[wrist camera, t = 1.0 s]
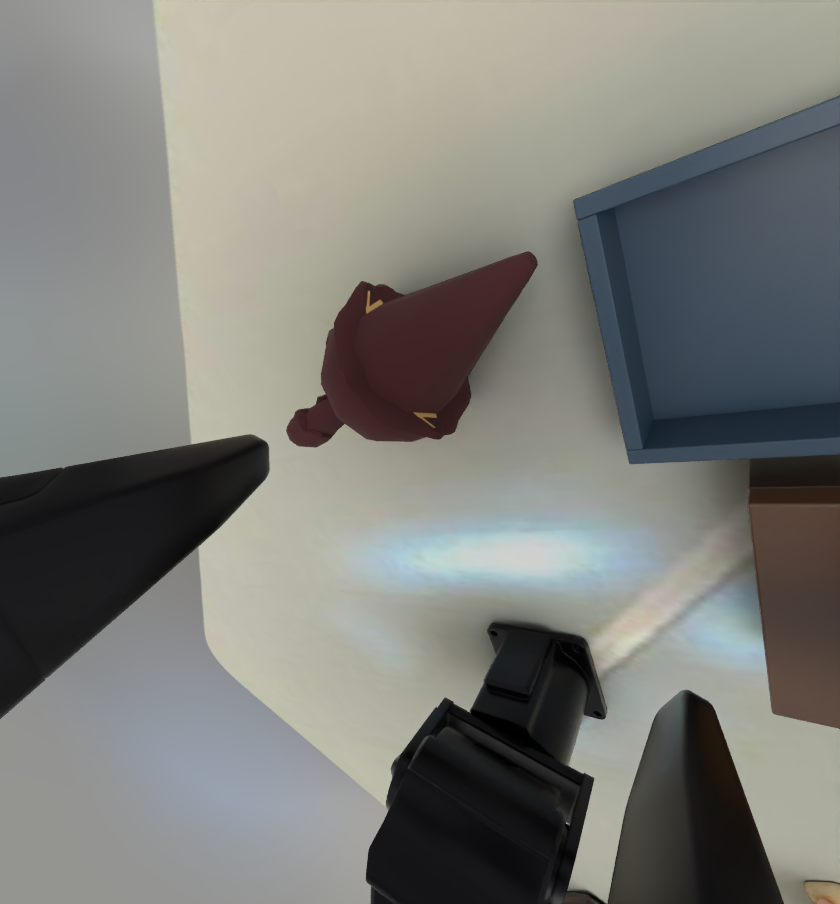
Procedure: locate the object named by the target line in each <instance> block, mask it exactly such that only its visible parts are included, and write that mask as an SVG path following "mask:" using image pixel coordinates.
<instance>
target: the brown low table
mask: <svg viewBox="0 0 840 904" xmlns="http://www.w3.org/2000/svg"><path fill="white" fill-rule="evenodd" d="M748 513H749V522H750V530H751V539H752V547H753V555H754V564H755V572H756V581H757V589H758V598H759V606H760V615H761V623H762V632H763V640H764V649H765V657H766V666H767V674H768V683H769V691H770V699H771V708H772V712H773V714H775V715H780V716H784V717H789V718H793V719H798V720H803V721H807V722H812V723H816V724H821V725H825V726H830V727H835V728H839V729H840V454H838V455H816V456H794V457H773V458H751V459H749V472H748Z"/></svg>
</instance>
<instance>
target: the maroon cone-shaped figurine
mask: <svg viewBox="0 0 840 904" xmlns="http://www.w3.org/2000/svg"><path fill="white" fill-rule="evenodd" d="M537 265H538V262H537V259H536V257H535V256H534V255H533V254H532V253H531V252H525V253H522V254H518V255H515V256H512V257H509V258H506V259H504V260H501V261H498V262H496V263H493V264H490V265H488V266H485V267H482V268H480V269H477V270H474V271H471V272H469V273H466V274H463V275H460V276H458V277H455V278H452V279H449V280H446V281H444V282H441V283H438V284H435V285H433V286H430V287H427V288H424V289H421V290H419V291H416V292H413V293H410V294H408V295H402V294H399V293H397V292H395V291H394V290H393V289H392V288H390V287H388V286H386V285H382V284H379V285H377V286H374V285H372V284H370V283H367V282H364V281H361V282H360V284H359V285H358V286H357V287H356V288H355V290H354V292H353V293H352V295H351V297H350V298H349V300H348V301H347V303H346V305H345V306H344V307H343V308H342V309H341V311H340V312H339V313H338V316H337V318H336V320H335V322H334V328H333V329H331V330H330V331H329V334H328V337H327V341H326V350H325V355H324V361H323V366H322V372H321V385H322V387H323V389H324V391H325V393H326V395H323V396H320V397H318V398H317V402H316V405H314V406H313V407H311V408H305V409H299V410H297V411H296V412H295V415H294V417H293V418H292V419H291V420H290V422H289V424H288V426H287V430H286V431H287V434H288V436H289V439H290V440H291V441H292V442H293V443H295V444H296V445H297V446H304V447H318V446H320V445H322V444H324V443H325V442H327V441H328V440H329V439H331V438H332V436H333V435H334V434H335V433H336V431H337V430H338V429H339V428H341V427H342V426H343V425H344V424H346V425H348V426H349V427H350V428H352V429H353V430H355V431H356V432H357V433H359V434H360V435H362V436H363V437H364V438H366V439H369V440H374V441H404V442H413V441H416V440H419V439H422V438H425V437H428V438H432V439H441V438H442V437H443V436H444V435H449V434H452V433H454V432H455V430H456V428H457V424H458V420H459V419H460V417H461V415H462V414H463V412H464V411H465V409H466V408H467V406H468V404H469V402H470V398H471V391H470V386H469V381H468V378H467V377H468V375H469V373H470V372H471V370H472V369H473V367H474V365H475V364H476V362H477V361H478V359H479V357H480V356H481V354H482V353H483V351H484V349H485V348H486V346H487V345H488V343H489V341H490V340H491V338H492V337H493V335H494V333H495V332H496V330H497V329H498V327H499V326H500V324H501V322H502V321H503V319H504V318H505V316H506V314H507V313H508V311H509V310H510V308H511V307H512V305H513V304H514V302H515V301H516V299H517V298H518V296H519V295H520V293H521V291H522V290H523V288H524V287H525V285H526V284H527V282H528V281H529V279H530V277H531V276H532V274H533V272H534V271H535V269H536V267H537Z"/></svg>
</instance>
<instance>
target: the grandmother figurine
mask: <svg viewBox="0 0 840 904" xmlns="http://www.w3.org/2000/svg"><path fill="white" fill-rule="evenodd" d="M804 887H805V890H806V892H807V894H808V896H809V897H810V898H811V900H812V901H813V902H814V903H815V904H840V885H839V884H836V883H830V882H805V883H804Z"/></svg>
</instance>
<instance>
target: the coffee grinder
mask: <svg viewBox="0 0 840 904" xmlns="http://www.w3.org/2000/svg"><path fill="white" fill-rule="evenodd" d="M563 904H600V903H599V902H597V901H596V900H595V899H593V898H592V897H591V896H589V895H588V894H581V893H575V892H569V893H566V896H565V900H564V903H563Z"/></svg>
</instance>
